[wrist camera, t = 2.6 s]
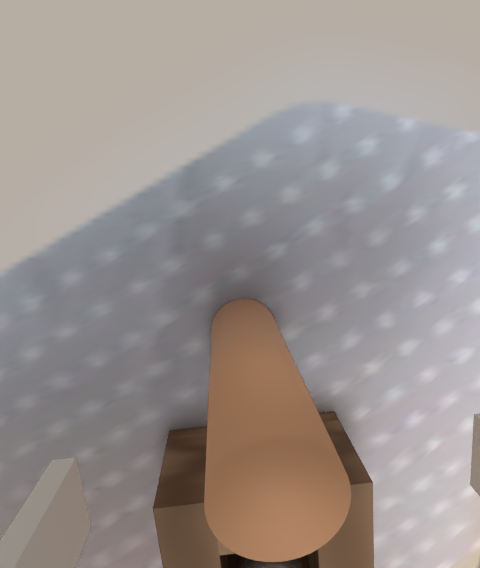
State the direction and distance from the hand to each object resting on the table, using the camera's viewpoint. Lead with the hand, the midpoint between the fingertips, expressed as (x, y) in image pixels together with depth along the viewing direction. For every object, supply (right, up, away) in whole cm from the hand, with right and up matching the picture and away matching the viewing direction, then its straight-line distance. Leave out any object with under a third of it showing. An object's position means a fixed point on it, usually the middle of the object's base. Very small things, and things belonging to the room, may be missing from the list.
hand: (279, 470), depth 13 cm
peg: (-1, +3, +13) cm, 14 cm away
